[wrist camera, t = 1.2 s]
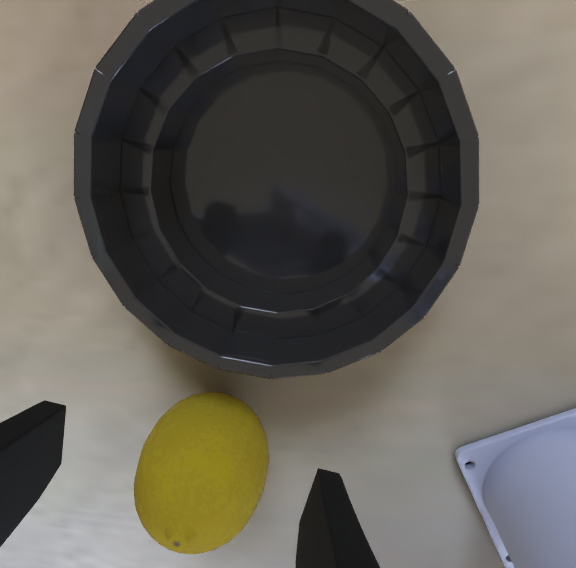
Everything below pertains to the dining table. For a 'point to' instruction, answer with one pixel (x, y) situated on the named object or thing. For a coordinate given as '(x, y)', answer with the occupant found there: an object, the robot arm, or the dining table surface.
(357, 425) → the dining table surface
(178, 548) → the lemon
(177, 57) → the bowl
